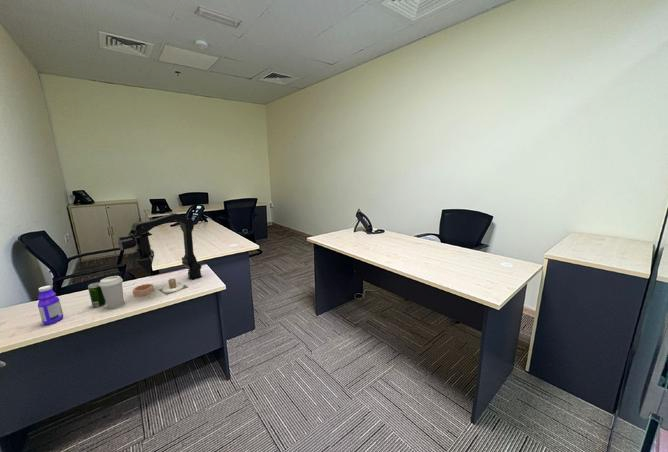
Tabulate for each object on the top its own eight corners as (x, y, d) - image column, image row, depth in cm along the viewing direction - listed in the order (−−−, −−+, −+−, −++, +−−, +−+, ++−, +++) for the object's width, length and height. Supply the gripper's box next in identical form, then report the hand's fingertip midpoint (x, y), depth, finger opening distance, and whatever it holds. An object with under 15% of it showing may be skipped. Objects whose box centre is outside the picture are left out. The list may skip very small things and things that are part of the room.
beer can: (104, 306, 137) (99, 285, 135) (91, 308, 135) (85, 287, 132) (107, 301, 142) (102, 281, 139) (94, 304, 140) (89, 283, 137)
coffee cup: (132, 301, 142) (126, 275, 139) (116, 310, 133) (110, 283, 129) (116, 300, 143) (110, 275, 140) (99, 310, 134) (92, 282, 130)
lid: (178, 283, 163) (177, 274, 162) (187, 287, 156) (185, 278, 155) (159, 289, 154) (157, 280, 153) (167, 294, 148) (165, 285, 146)
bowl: (150, 288, 158) (149, 282, 157) (156, 292, 152) (155, 286, 151) (131, 294, 150) (130, 288, 149) (137, 298, 145) (136, 292, 144)
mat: (179, 283, 163) (179, 282, 163) (188, 287, 156) (188, 287, 156) (157, 290, 154) (157, 289, 154) (166, 295, 147) (166, 295, 147)
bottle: (54, 317, 128) (45, 284, 124) (67, 316, 128) (58, 283, 125) (39, 326, 121) (29, 291, 117) (53, 325, 121) (43, 290, 118)
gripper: (127, 243, 148) (133, 269, 152) (122, 252, 133) (129, 280, 136) (151, 240, 154) (156, 264, 157) (148, 248, 138) (154, 275, 142)
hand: (149, 271), depth 148 cm, fingers open, 9 cm apart
